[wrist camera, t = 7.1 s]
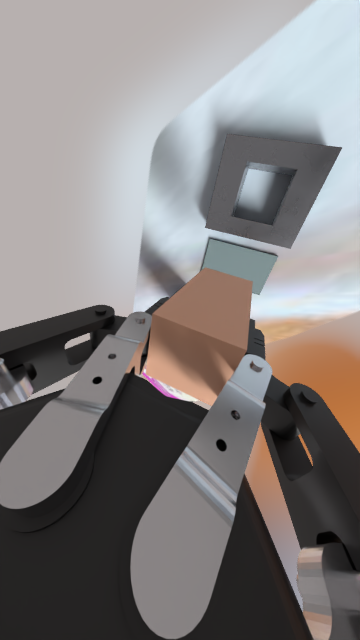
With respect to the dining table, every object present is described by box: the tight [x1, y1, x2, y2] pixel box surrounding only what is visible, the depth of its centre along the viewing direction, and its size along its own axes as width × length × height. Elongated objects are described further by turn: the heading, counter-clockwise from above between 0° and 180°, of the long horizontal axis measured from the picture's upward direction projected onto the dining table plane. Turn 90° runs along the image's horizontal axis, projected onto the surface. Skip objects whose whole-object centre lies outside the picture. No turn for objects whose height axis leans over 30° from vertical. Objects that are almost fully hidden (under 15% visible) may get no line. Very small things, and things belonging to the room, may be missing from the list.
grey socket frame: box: [205, 134, 342, 248], centre depth 21 cm, size 11×9×3 cm
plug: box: [146, 267, 253, 406], centre depth 12 cm, size 4×4×9 cm
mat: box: [202, 239, 278, 295], centre depth 27 cm, size 10×6×1 cm, turn 79°
